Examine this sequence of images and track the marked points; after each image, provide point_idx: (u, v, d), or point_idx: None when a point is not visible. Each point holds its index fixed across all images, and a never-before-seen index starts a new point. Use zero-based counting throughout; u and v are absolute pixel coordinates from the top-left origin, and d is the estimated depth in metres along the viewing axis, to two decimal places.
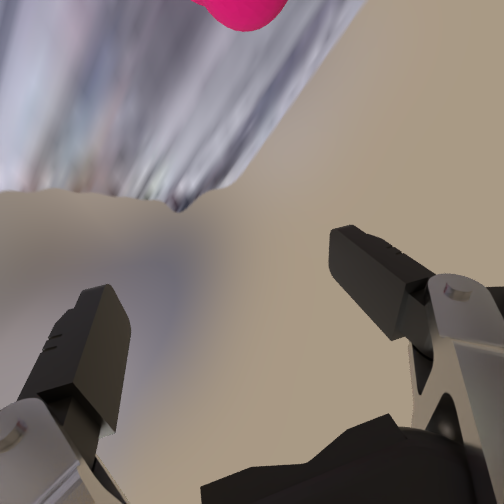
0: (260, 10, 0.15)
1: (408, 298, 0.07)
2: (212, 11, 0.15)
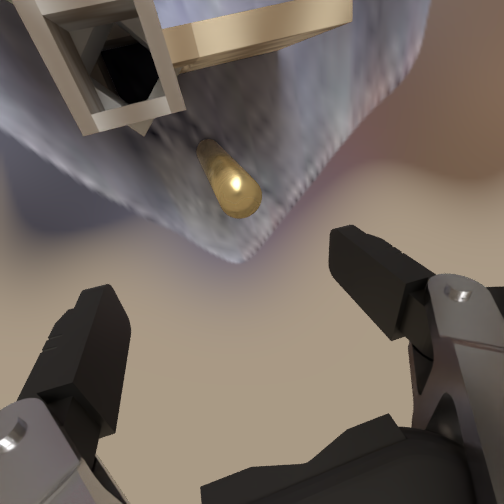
0: None
1: (408, 298, 0.07)
2: None
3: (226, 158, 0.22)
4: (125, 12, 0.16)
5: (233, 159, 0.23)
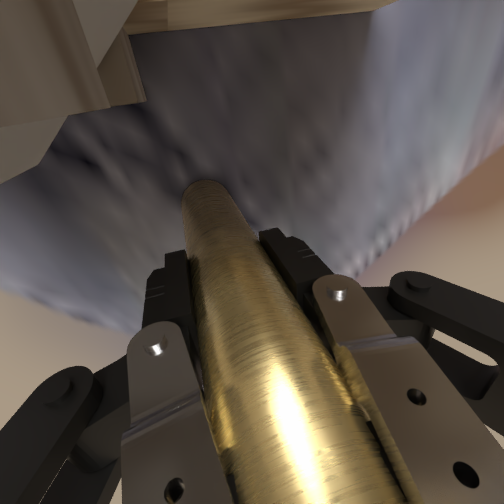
0: None
1: (304, 297, 0.07)
2: None
3: (274, 312, 0.06)
4: None
5: (289, 296, 0.07)
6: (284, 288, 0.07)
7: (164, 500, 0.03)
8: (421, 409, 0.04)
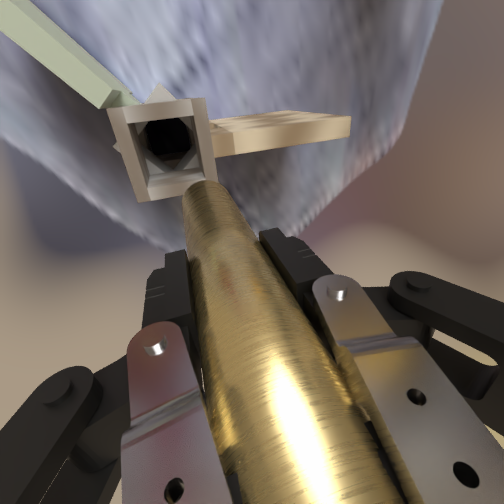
0: None
1: (304, 297, 0.07)
2: None
3: (275, 313, 0.06)
4: None
5: (290, 296, 0.07)
6: (285, 289, 0.07)
7: (164, 500, 0.03)
8: (421, 408, 0.04)
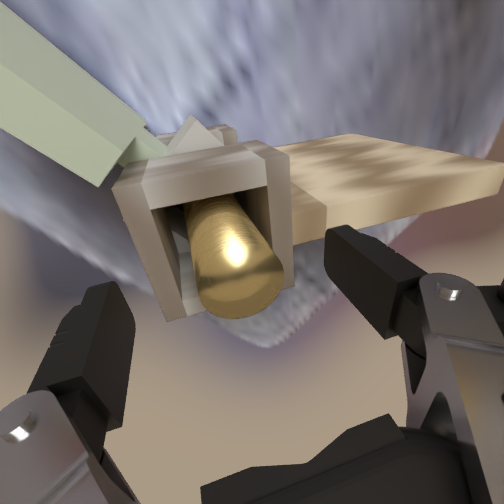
0: None
1: (401, 296, 0.07)
2: None
3: None
4: None
5: (229, 193, 0.14)
6: None
7: None
8: None
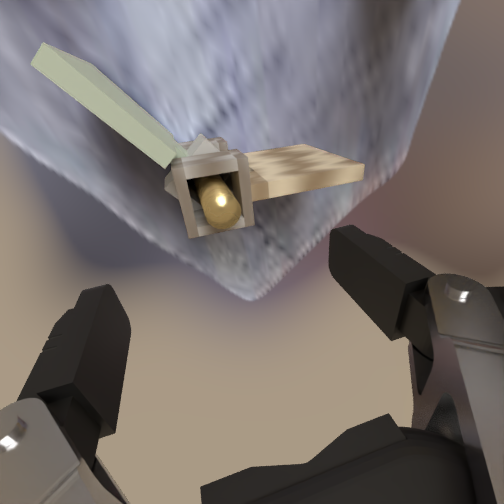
0: None
1: (409, 298, 0.07)
2: None
3: (214, 176, 0.26)
4: None
5: None
6: (220, 176, 0.27)
7: None
8: None
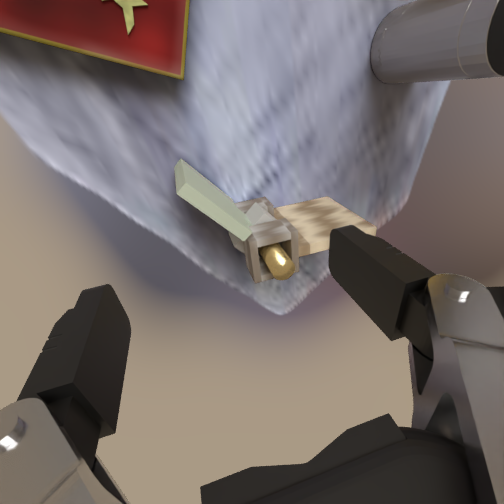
0: None
1: (408, 298, 0.07)
2: None
3: None
4: None
5: None
6: None
7: None
8: None
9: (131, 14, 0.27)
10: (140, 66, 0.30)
